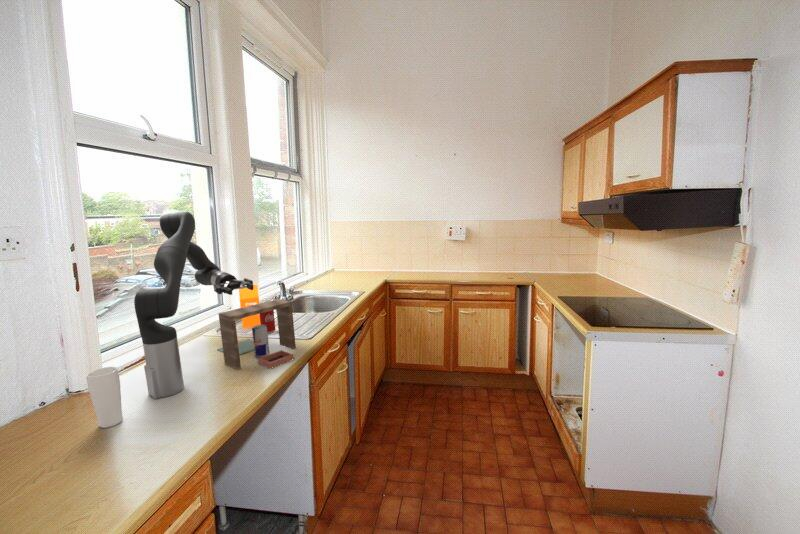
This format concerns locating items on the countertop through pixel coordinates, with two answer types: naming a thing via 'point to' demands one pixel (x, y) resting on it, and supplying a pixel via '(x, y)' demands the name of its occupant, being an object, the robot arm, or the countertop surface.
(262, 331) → the energy drink
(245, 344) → the mat
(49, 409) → the countertop surface
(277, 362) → the pink tray
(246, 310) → the tunnel
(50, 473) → the countertop surface
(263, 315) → the beverage can
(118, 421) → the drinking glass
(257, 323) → the orange juice
